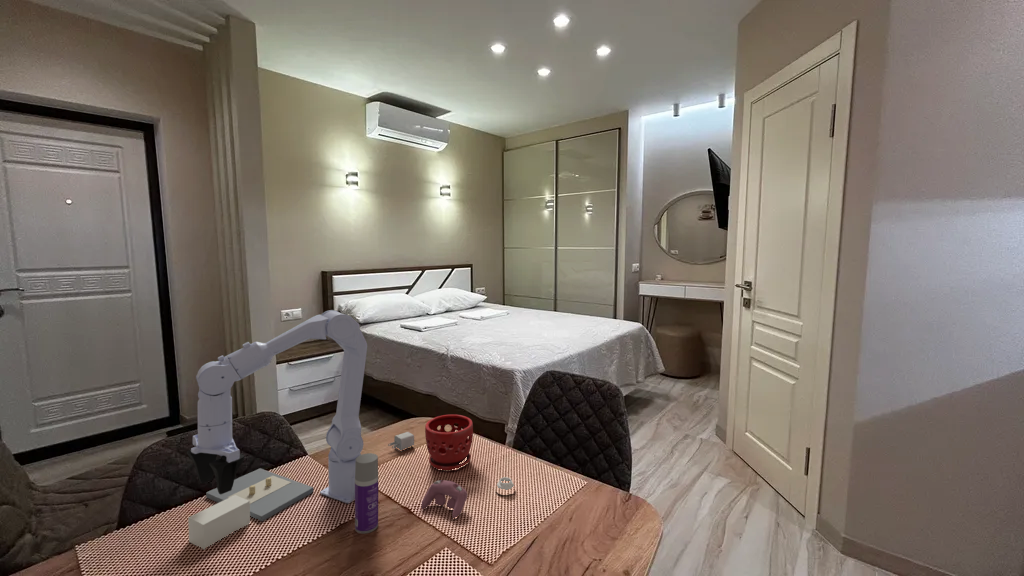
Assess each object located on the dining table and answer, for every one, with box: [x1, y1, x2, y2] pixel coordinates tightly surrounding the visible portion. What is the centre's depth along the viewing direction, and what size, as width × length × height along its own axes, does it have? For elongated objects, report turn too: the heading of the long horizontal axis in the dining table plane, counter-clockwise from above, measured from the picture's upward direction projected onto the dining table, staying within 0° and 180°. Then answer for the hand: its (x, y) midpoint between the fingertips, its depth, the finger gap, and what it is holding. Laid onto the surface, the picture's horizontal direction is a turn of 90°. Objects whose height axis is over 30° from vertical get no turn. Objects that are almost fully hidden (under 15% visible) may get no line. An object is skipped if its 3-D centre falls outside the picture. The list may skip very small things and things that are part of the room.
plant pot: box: [424, 414, 474, 470], centre depth 116 cm, size 13×13×12 cm
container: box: [354, 452, 379, 534], centre depth 88 cm, size 5×5×15 cm
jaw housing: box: [187, 495, 251, 550], centre depth 86 cm, size 5×9×5 cm, turn 155°
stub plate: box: [205, 467, 314, 522], centre depth 99 cm, size 20×13×3 cm, turn 65°
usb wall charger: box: [387, 431, 415, 450], centre depth 125 cm, size 4×7×4 cm, turn 136°
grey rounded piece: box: [496, 476, 515, 490], centre depth 104 cm, size 5×3×5 cm
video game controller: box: [421, 479, 468, 519], centre depth 96 cm, size 10×5×7 cm, turn 65°
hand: (215, 486), depth 86 cm, fingers open, 7 cm apart
